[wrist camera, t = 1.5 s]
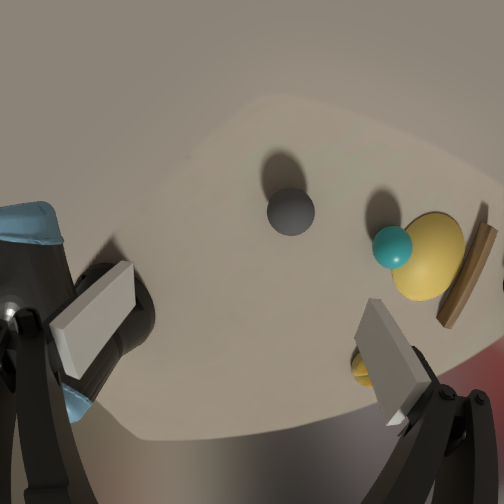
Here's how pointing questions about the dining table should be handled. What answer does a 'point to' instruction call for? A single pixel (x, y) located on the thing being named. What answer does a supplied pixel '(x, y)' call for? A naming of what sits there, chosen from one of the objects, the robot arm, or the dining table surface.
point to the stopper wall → (468, 275)
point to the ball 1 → (290, 212)
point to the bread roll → (360, 371)
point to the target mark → (431, 257)
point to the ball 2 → (392, 247)
